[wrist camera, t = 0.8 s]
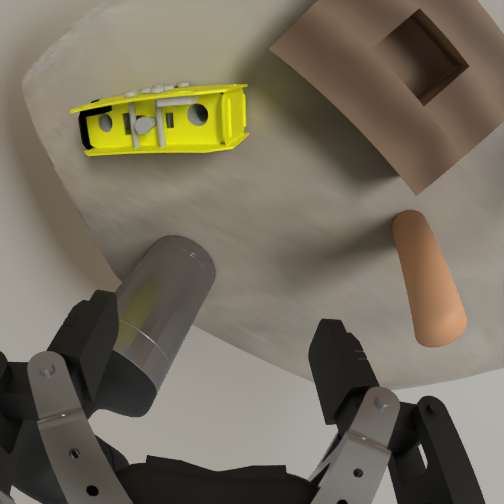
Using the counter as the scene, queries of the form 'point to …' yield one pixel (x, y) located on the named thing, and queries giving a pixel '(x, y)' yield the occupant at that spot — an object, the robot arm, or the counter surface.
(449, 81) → the socket block
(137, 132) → the yellow toy chassis
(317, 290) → the counter surface
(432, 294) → the pin
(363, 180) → the counter surface
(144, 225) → the counter surface
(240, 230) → the counter surface
